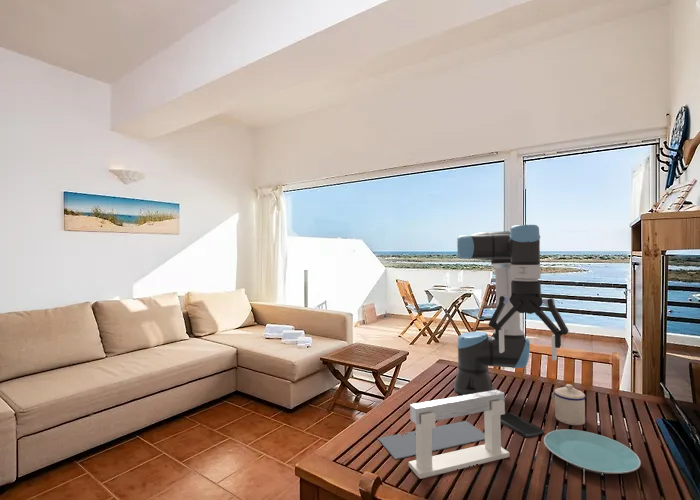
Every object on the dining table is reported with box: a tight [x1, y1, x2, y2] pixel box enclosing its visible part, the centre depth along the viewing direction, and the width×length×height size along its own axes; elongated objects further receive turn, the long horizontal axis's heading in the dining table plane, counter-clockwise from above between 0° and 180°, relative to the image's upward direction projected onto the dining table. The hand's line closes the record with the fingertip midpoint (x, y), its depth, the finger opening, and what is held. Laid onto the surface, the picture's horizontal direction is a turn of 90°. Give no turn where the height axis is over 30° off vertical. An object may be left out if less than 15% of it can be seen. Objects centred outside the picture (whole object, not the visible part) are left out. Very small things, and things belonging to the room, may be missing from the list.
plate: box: [543, 428, 642, 475], centre depth 102 cm, size 22×22×3 cm
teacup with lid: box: [551, 383, 587, 426], centre depth 125 cm, size 12×9×12 cm
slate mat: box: [377, 420, 485, 461], centre depth 113 cm, size 12×32×1 cm, turn 109°
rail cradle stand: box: [408, 400, 510, 480], centre depth 101 cm, size 6×28×16 cm, turn 109°
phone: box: [500, 411, 545, 438], centre depth 121 cm, size 8×1×15 cm
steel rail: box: [409, 389, 505, 425], centre depth 101 cm, size 3×28×4 cm, turn 109°
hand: (527, 355), depth 104 cm, fingers open, 13 cm apart
